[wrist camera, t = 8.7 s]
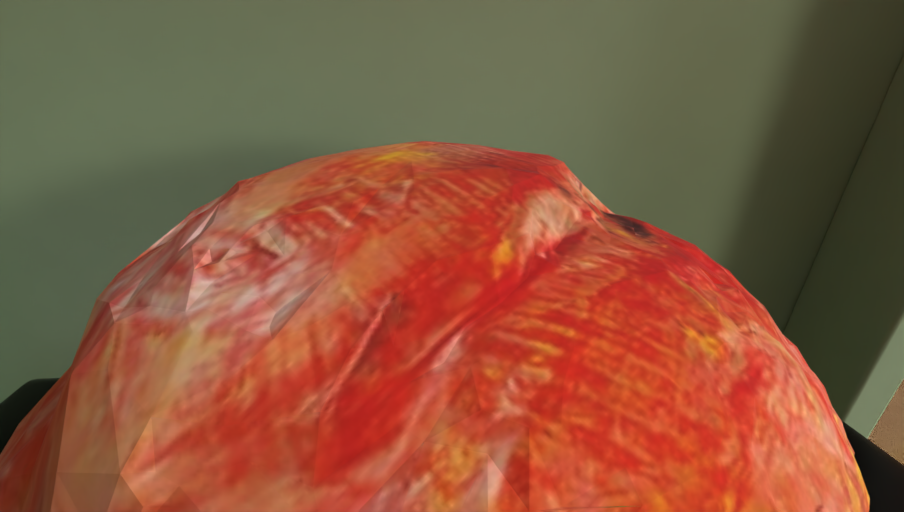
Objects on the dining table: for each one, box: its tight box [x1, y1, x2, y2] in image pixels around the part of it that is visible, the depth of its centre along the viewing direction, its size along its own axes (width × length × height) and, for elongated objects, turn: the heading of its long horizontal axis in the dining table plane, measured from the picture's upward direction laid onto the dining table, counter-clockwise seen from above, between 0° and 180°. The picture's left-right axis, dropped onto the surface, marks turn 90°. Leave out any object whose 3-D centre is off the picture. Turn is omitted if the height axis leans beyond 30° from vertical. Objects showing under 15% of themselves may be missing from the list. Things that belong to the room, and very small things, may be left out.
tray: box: [0, 0, 904, 439], centre depth 9 cm, size 17×13×2 cm
